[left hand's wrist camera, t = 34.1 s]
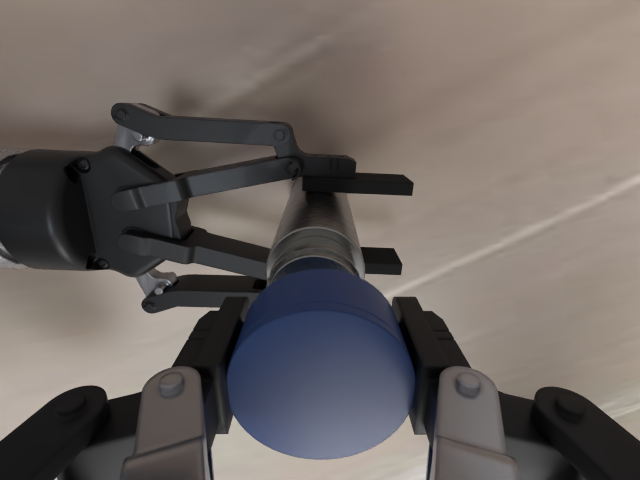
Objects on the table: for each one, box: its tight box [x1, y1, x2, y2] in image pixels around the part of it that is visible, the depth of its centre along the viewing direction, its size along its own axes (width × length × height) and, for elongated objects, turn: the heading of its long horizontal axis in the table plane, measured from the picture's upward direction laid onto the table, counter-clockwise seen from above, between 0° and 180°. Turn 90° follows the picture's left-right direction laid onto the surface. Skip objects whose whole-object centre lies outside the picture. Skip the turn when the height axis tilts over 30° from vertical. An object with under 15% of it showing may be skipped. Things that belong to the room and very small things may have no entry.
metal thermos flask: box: [266, 177, 365, 287], centre depth 21 cm, size 4×4×16 cm
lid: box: [226, 269, 416, 459], centre depth 10 cm, size 5×5×2 cm
